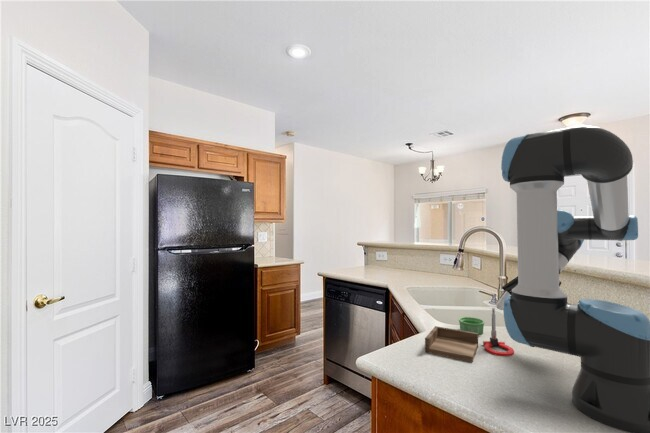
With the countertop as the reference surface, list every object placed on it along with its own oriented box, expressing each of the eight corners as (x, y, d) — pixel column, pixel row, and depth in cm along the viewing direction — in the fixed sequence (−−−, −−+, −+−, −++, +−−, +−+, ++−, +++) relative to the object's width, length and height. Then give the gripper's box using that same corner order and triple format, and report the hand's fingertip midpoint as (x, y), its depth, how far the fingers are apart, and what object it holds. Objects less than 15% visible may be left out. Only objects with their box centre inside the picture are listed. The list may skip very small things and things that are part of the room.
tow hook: (518, 358, 97) (506, 345, 106) (518, 317, 96) (505, 307, 105) (490, 357, 98) (480, 344, 107) (489, 316, 98) (479, 307, 107)
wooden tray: (472, 362, 93) (472, 346, 93) (425, 352, 101) (425, 338, 101) (478, 346, 105) (477, 333, 105) (435, 338, 113) (435, 326, 113)
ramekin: (459, 334, 117) (458, 322, 117) (458, 326, 126) (458, 315, 126) (485, 337, 114) (485, 325, 114) (483, 329, 122) (483, 318, 122)
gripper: (593, 279, 96) (554, 332, 93) (525, 268, 121) (493, 310, 117) (578, 262, 95) (539, 315, 92) (513, 255, 120) (480, 296, 116)
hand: (513, 312), depth 104 cm, fingers open, 13 cm apart
